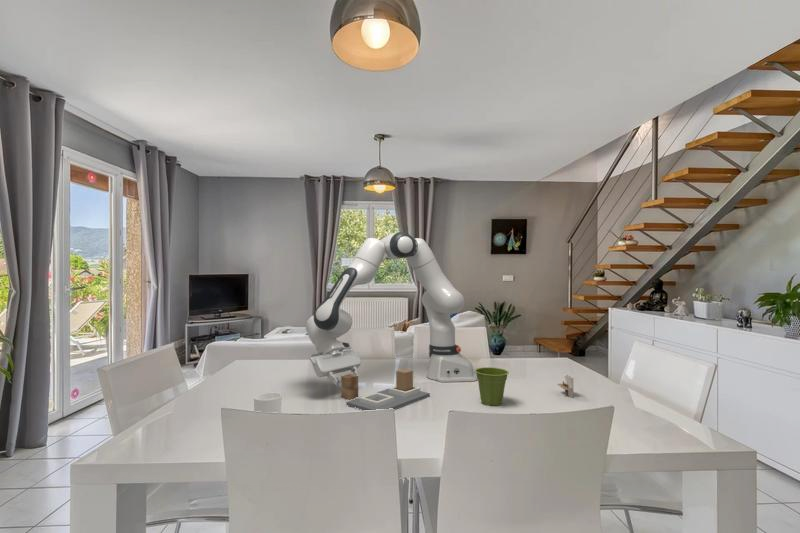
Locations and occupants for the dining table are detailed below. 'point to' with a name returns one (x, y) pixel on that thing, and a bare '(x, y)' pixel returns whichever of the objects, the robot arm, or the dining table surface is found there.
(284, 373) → the dining table surface
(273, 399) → the white cup
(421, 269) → the robot arm
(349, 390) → the walnut block
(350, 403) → the baseplate
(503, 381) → the plant pot
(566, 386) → the architectural model
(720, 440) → the dining table surface
